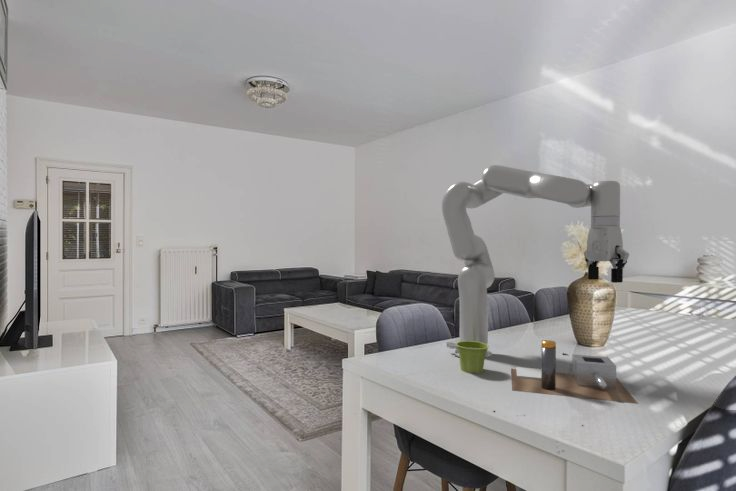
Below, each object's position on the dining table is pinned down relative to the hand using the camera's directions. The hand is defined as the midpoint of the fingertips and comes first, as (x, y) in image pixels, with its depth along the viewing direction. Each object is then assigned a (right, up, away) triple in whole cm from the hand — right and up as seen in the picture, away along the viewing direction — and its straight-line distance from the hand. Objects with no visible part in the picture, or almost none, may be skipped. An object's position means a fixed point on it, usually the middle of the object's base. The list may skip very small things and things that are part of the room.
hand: (604, 280), depth 125 cm
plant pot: (-39, -28, 0) cm, 48 cm away
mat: (-23, -26, -4) cm, 35 cm away
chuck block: (-10, -26, -15) cm, 32 cm away
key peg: (-23, -26, -16) cm, 39 cm away
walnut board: (-17, -28, -13) cm, 35 cm away
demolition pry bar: (-3, -28, +10) cm, 30 cm away
